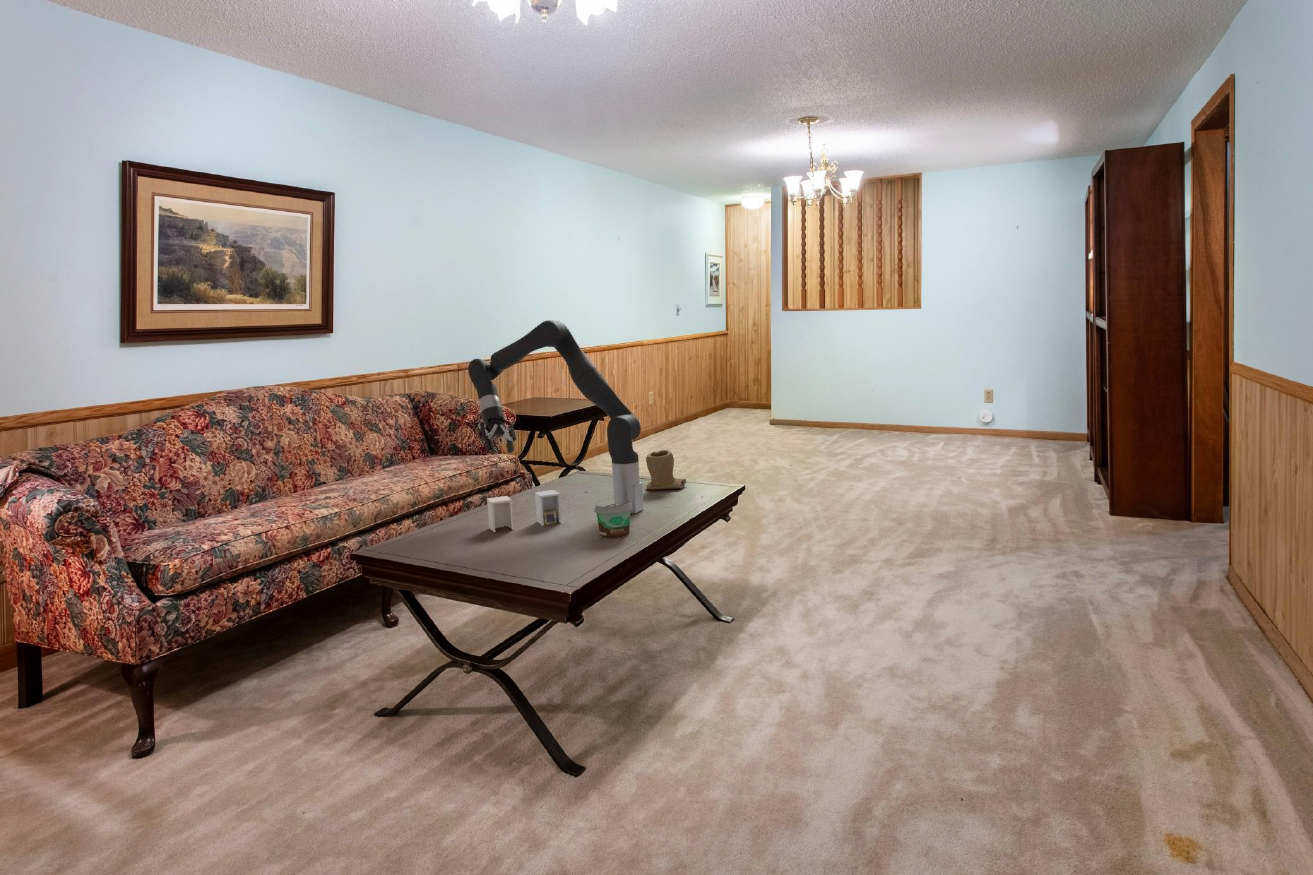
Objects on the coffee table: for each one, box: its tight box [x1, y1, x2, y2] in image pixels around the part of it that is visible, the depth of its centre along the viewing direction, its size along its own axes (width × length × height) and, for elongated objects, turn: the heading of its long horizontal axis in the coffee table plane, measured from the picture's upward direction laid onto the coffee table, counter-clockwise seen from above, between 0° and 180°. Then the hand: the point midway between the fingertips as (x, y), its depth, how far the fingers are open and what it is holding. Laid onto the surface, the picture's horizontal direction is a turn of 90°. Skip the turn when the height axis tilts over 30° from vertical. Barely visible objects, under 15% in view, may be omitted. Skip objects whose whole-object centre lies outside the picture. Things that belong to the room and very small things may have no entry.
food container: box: [594, 500, 632, 539], centre depth 260 cm, size 12×6×10 cm, turn 117°
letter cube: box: [543, 509, 557, 525], centre depth 281 cm, size 4×4×4 cm
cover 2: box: [534, 489, 563, 527], centre depth 281 cm, size 7×7×10 cm
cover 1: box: [486, 495, 515, 532], centre depth 275 cm, size 7×7×10 cm
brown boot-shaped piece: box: [645, 449, 687, 490], centre depth 324 cm, size 15×12×15 cm
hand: (501, 451), depth 295 cm, fingers open, 8 cm apart
